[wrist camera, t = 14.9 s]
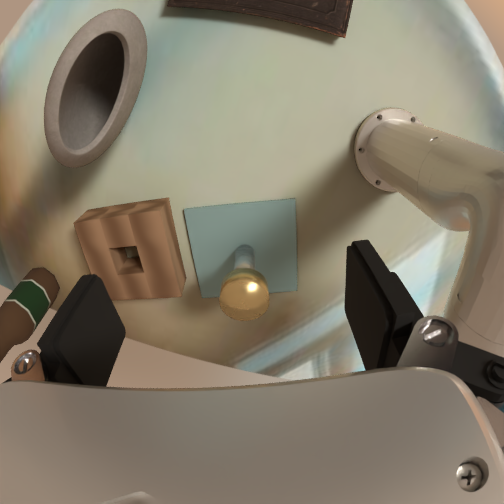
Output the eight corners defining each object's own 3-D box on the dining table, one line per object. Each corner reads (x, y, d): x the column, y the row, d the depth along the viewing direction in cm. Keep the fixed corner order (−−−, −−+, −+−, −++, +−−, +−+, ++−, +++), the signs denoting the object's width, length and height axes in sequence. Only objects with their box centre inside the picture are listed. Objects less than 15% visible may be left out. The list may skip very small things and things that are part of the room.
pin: (263, 233, 46) (267, 279, 35) (265, 268, 49) (270, 318, 38) (222, 237, 46) (215, 283, 35) (227, 271, 49) (223, 322, 38)
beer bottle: (28, 261, 48) (-40, 344, 27) (59, 271, 49) (-6, 364, 28) (32, 291, 51) (-25, 374, 31) (62, 302, 53) (8, 393, 32)
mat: (294, 198, 43) (295, 199, 43) (296, 289, 51) (297, 290, 51) (184, 208, 44) (183, 209, 44) (202, 296, 52) (202, 298, 51)
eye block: (168, 197, 43) (160, 210, 39) (186, 278, 50) (181, 296, 46) (87, 209, 43) (73, 223, 39) (111, 283, 50) (102, 300, 46)
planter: (134, 154, 40) (67, 201, 23) (92, 142, 38) (12, 182, 22) (176, 30, 31) (126, -8, 15) (130, 21, 30) (58, -11, 13)
